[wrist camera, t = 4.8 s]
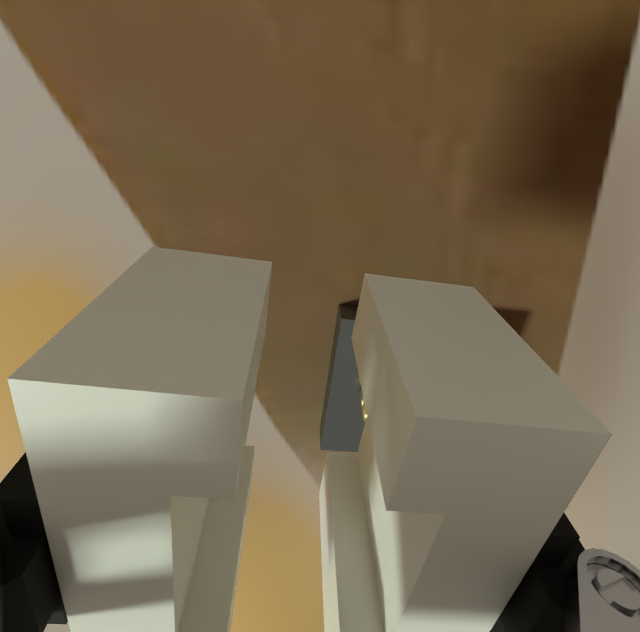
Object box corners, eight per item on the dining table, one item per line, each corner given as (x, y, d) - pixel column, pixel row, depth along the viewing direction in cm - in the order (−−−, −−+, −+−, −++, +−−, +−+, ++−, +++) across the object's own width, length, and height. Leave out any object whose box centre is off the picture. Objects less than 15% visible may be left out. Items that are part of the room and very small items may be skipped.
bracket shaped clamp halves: (152, 246, 9) (8, 378, 5) (473, 286, 10) (611, 433, 5) (162, 482, 13) (84, 688, 8) (400, 498, 13) (449, 696, 9)
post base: (338, 304, 27) (348, 359, 21) (499, 319, 27) (550, 376, 22) (319, 430, 32) (322, 502, 26) (455, 439, 32) (487, 511, 27)
